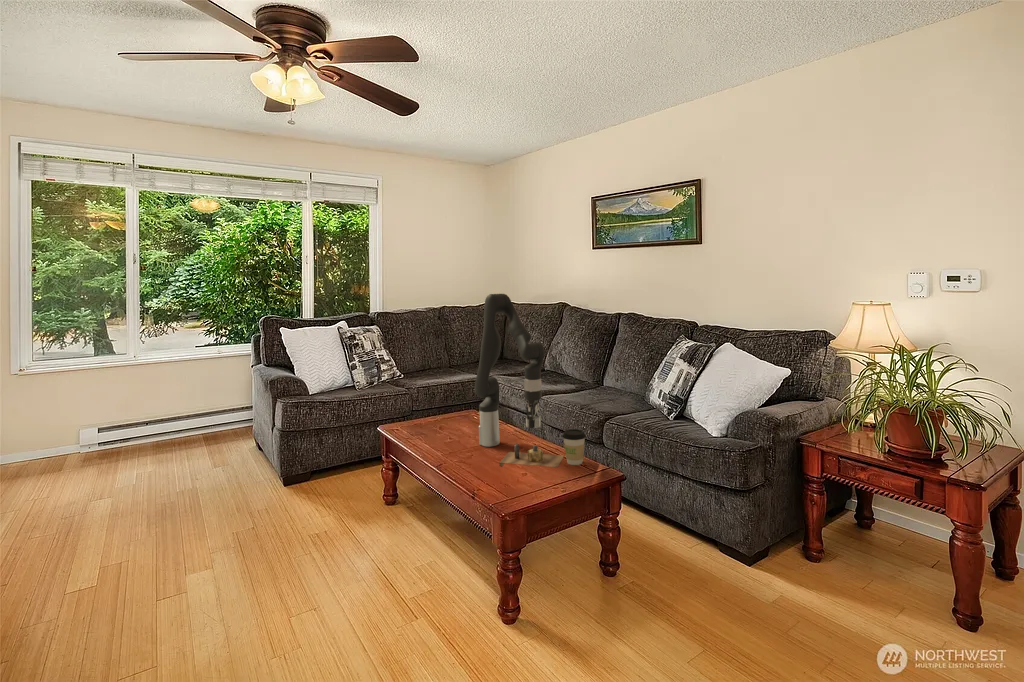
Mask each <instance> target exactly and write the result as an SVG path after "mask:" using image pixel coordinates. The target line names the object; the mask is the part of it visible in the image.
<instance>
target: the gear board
mask: <svg viewBox="0 0 1024 682" xmlns="http://www.w3.org/2000/svg"><path fill="white" fill-rule="evenodd" d="M564 457H565V455H561V454H560V455H559V454H548V453H546V454H545V453H544V451H543V449H541V448H538V445H532V448H530V449H529V450H527V452H521V451H520V445H519V444H518V443H517V444H514V451H509V452H507V453H506V454H505V456H504V457H503V458H502V459H501V460H500V461H499V466H500V467H503V466H504V465H505V464H511V465H512V464H514V465H526V466H536V467H537V466H539V467H548V468H549V467H550V468H551V467H552V468H558V467H559V466H560V464H561V463H562V461H563V459H564Z"/></svg>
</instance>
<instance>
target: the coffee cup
mask: <svg viewBox="0 0 1024 682" xmlns="http://www.w3.org/2000/svg"><path fill="white" fill-rule="evenodd" d="M562 438H563V441H564V444H563V446H564V451H565V459H566V463H567V464H568V465H569V466H578V465H582V464H583V460H584V451H585V438H587V437H586V433H585V431H584V430H582V429H578V428H571V429H566V430H564V432H563V434H562Z"/></svg>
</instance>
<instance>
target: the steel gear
mask: <svg viewBox="0 0 1024 682" xmlns="http://www.w3.org/2000/svg"><path fill="white" fill-rule="evenodd" d="M530 417H531V415H530ZM534 418H535V419H534V428H533V429H536V428H538V429H539V428H540V427H541V425H542V416H541V415H535V417H534ZM525 422H526V424H525V427H526V428H529V420H527V417H526V418H525Z"/></svg>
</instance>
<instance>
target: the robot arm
mask: <svg viewBox="0 0 1024 682" xmlns="http://www.w3.org/2000/svg"><path fill="white" fill-rule="evenodd" d="M483 309H484V310H483V311H484V313H483V329H482V330H483V331H482V337H481V338H482V339H481V347H480V355H479V363H478V368H477V373H476V377H475V383H474V392H475V395H476V396H477V397H478V398H481V399H484V400H483V401H482V402H481V403H480V404H479V405H478V409H479V410H478V411H479V425H478V438H479V439H478V441H479V444H478V445H479V446H482V447H488V448H489V447H496V446H498V445H500V441H501V439H500V420H499V419H500V418H499V405H500V383H499V381H498V379H497V378H496V377H495V376H490V373H491V371H492V369H493V367H494V366H495V364H496V363H497V361H498V359H499V357H500V354H501V349H502V348H501V347H502V338H501V336H500V333H499V331H498V329H497V327H496V315H498V314H499V315H500V314H501V315H502V314H504V315H505V316H506V317H507V319H508V332H509V333H510V336H511V337H512V338H513V340H514V341H515V343H516V344H517V345H516V346H517V348H518V351H519V354H520V356H521V358H522V359H523V360H524V361H525V360H526V361H530V360H531V362H530V363H528V364H527V365H525V367H524V382H523V383H524V384H523V386H524V387H523V388H524V400H526V401H528V403H527V406H526V408H525V409H526V418H527V420H529V427H528V428H529V429H535V428H534V419H535V418H534V417H535V415H537V416H539V413H540V401H541V400H542V397H543V393H542V391H543V389H542V383H543V382H542V376H541V375H542V372H541V371H542V366H543V363H544V362H543V361H544V358H545V347H544V345H543V344H542V343H541V342H539V341H537V342H531V341H532V336H531V333H530V331H528V329H527V328H526V327H525V325H524V324H523V322H522V320H521V319H520V317H519V315H518V313H517V310H516V308H515V306H514V304H513V302H512V300H511V298H510V297H509V296H508V295H507V294H505V293H489V294H488V295H486V297H485V299H484V308H483ZM530 415H531V417H530Z"/></svg>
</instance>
